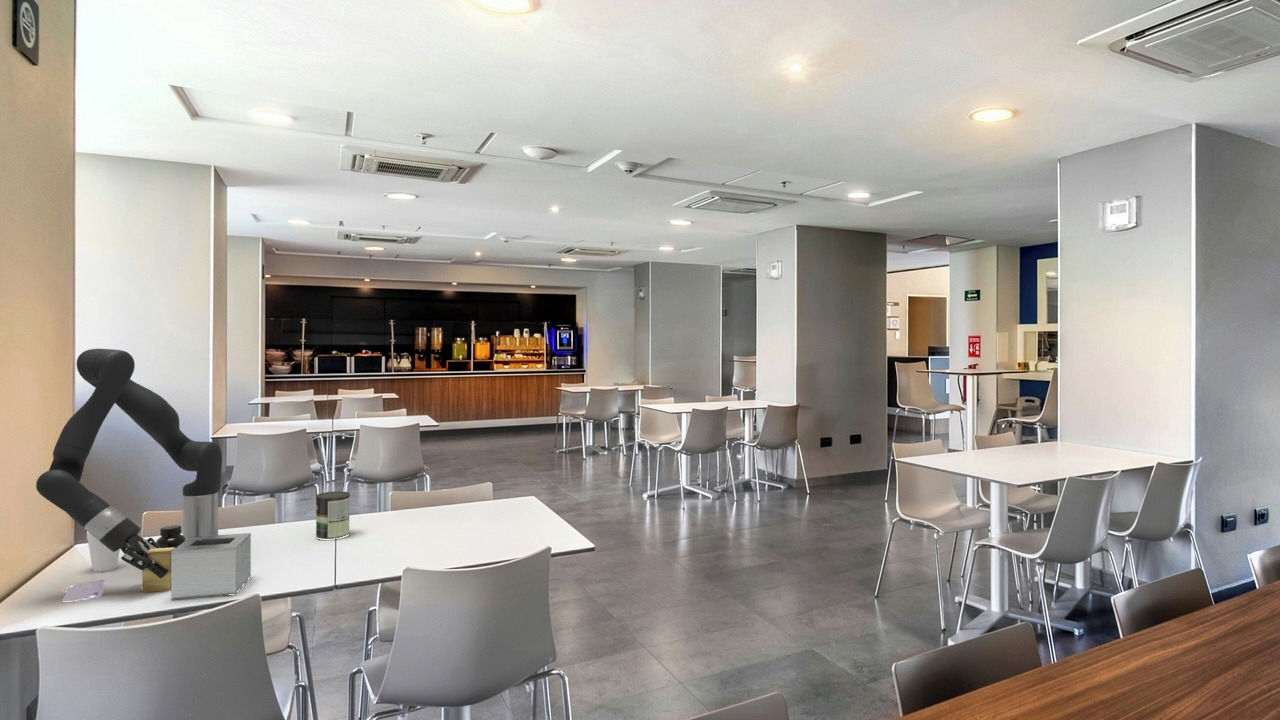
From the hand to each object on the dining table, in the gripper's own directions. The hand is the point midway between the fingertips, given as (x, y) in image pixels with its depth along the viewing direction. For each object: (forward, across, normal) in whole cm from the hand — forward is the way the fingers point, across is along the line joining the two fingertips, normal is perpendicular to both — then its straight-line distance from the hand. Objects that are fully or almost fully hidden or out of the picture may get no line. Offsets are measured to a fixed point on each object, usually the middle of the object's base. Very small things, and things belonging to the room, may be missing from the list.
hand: (167, 572), depth 174 cm
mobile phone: (-10, +3, +17) cm, 20 cm away
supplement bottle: (0, +17, +7) cm, 18 cm away
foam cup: (-13, +23, +19) cm, 33 cm away
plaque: (+1, 0, +4) cm, 5 cm away
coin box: (+11, -3, -5) cm, 12 cm away
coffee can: (+26, +43, -20) cm, 54 cm away
